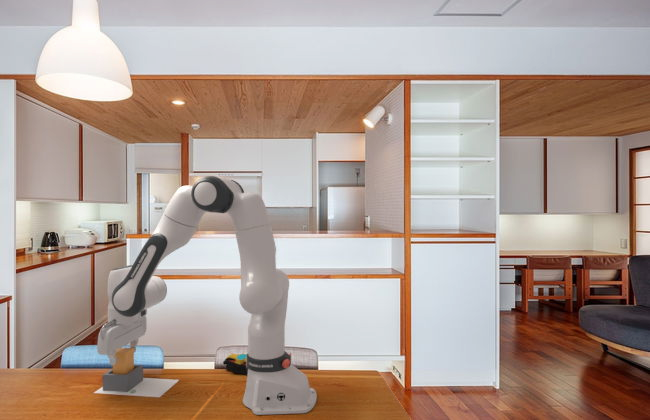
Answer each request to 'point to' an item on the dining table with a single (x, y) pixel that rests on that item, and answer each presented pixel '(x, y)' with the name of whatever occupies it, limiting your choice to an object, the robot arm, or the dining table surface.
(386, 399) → the dining table surface
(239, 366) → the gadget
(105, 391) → the breaker panel
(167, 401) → the dining table surface
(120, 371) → the orange rectangular block
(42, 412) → the dining table surface
